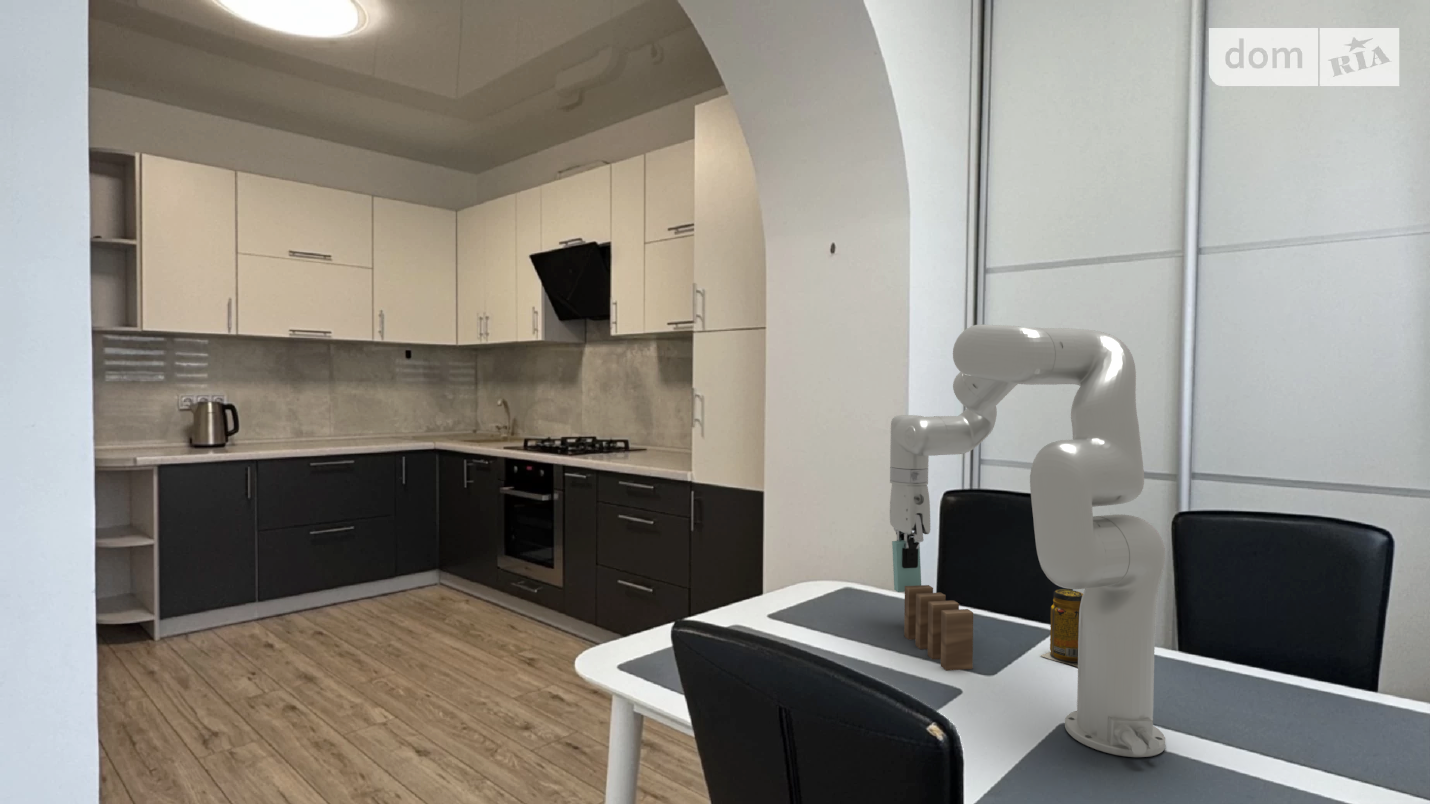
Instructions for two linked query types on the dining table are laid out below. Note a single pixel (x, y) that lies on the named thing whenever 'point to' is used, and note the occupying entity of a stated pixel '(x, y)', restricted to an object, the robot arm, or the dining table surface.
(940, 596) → the domino
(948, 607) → the domino
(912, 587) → the domino
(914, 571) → the domino
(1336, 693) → the dining table surface
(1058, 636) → the condiment
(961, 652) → the domino
